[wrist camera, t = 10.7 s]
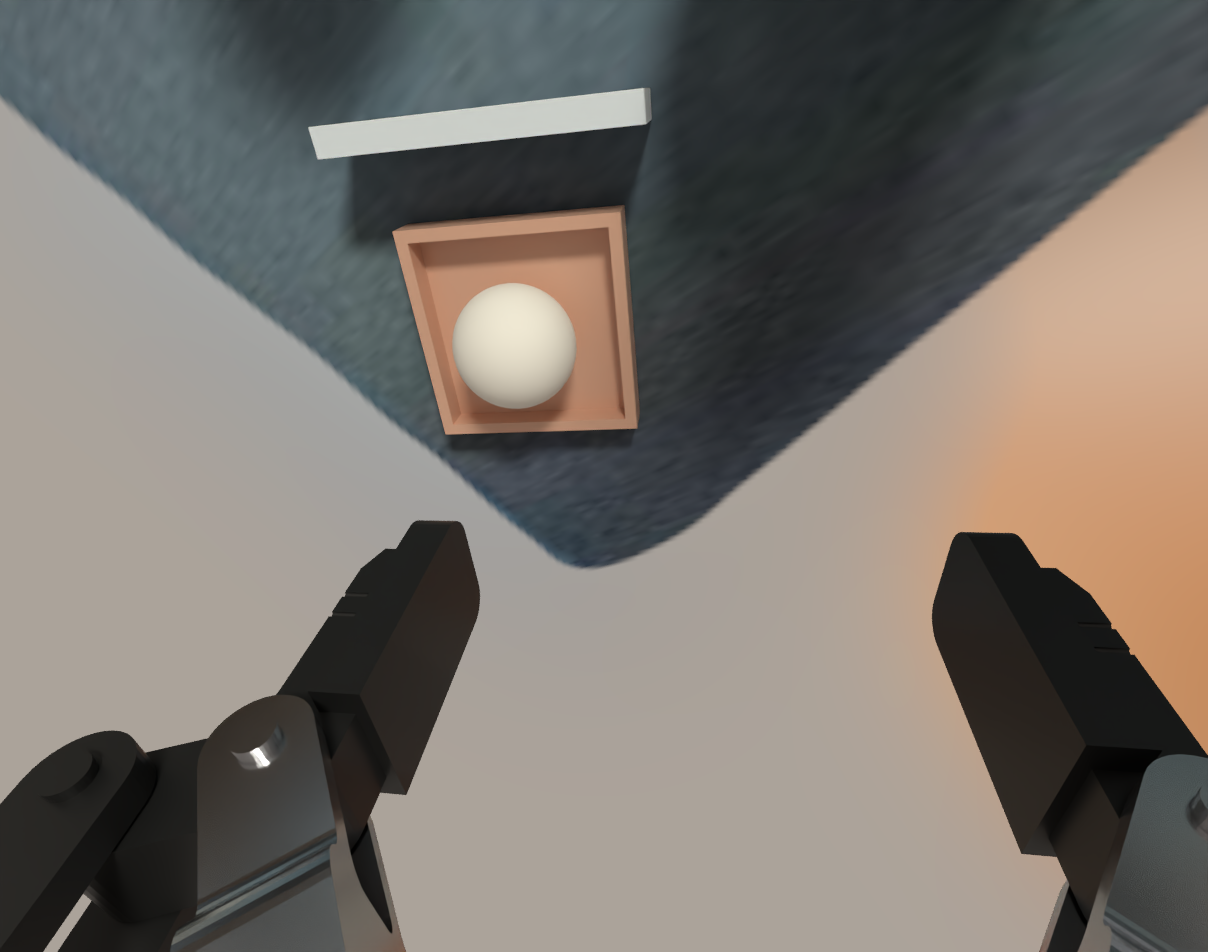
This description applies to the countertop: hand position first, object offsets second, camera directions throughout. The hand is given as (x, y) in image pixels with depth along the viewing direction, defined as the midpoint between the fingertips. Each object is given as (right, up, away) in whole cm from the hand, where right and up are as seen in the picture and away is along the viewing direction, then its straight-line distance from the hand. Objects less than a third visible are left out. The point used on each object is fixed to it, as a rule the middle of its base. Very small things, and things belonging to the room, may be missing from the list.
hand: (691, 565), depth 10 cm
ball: (-5, +9, +22) cm, 25 cm away
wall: (-6, +18, +18) cm, 26 cm away
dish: (-5, +10, +23) cm, 25 cm away
